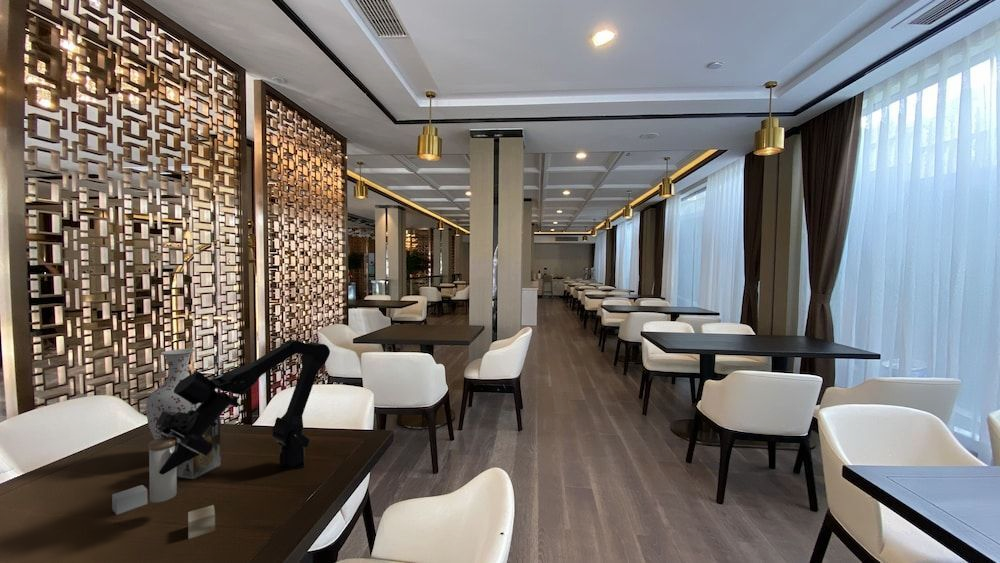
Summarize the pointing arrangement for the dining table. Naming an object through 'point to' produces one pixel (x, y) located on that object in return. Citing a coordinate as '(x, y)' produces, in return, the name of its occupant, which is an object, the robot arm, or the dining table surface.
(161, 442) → the ceramic jar
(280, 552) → the dining table surface
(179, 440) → the robot arm
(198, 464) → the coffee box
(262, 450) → the dining table surface
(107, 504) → the dining table surface
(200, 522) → the birch block
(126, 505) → the grey block
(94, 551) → the dining table surface
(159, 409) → the vase
